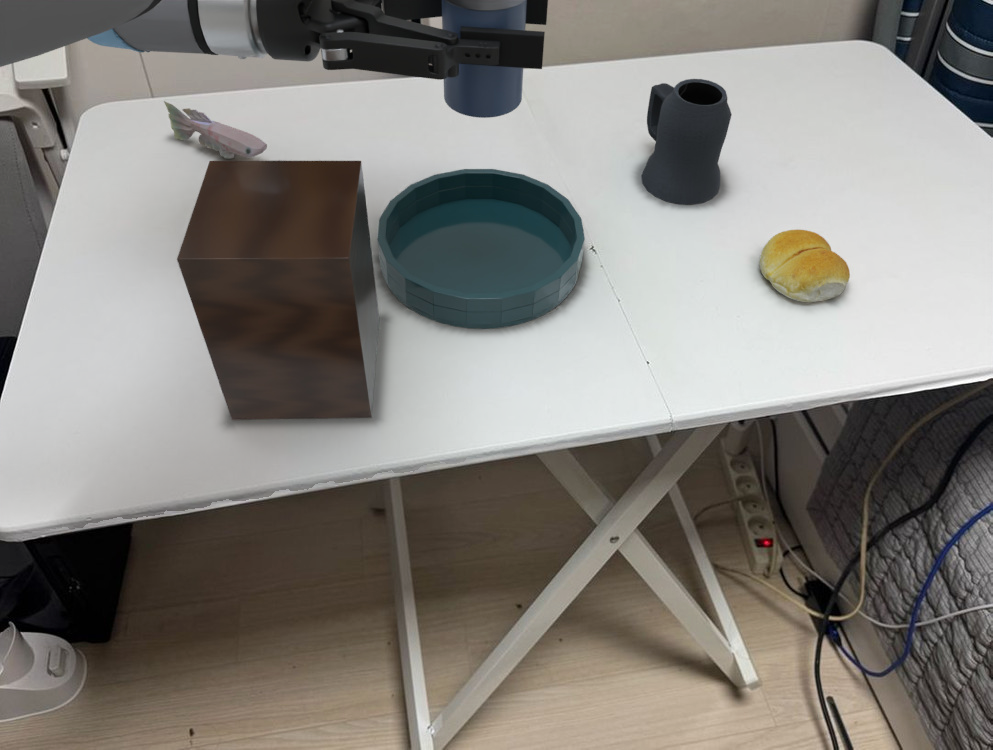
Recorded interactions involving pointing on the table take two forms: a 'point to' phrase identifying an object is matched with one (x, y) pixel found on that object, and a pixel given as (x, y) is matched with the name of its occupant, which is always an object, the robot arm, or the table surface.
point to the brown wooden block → (285, 287)
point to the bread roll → (803, 266)
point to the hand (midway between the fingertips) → (545, 28)
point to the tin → (483, 86)
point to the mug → (686, 140)
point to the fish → (214, 133)
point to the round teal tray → (480, 248)
